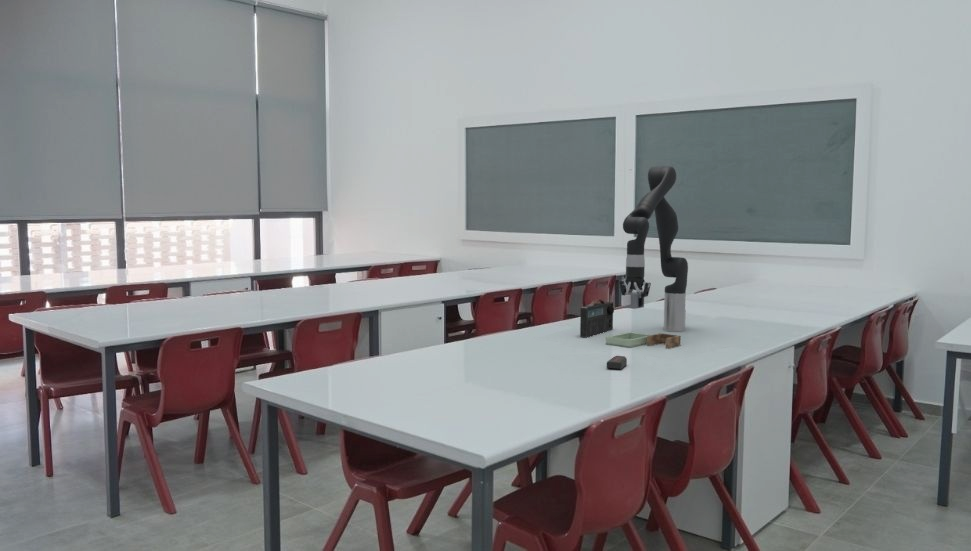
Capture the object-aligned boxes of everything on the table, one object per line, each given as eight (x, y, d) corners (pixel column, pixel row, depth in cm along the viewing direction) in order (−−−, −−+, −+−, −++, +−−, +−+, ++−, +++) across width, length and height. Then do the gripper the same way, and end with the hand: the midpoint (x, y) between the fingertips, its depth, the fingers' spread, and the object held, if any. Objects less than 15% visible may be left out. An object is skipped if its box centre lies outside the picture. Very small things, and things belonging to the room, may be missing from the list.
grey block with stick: (633, 306, 331) (633, 292, 331) (643, 307, 328) (644, 292, 327) (617, 309, 322) (617, 294, 322) (627, 310, 319) (627, 295, 318)
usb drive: (606, 367, 278) (606, 360, 277) (614, 361, 289) (614, 354, 288) (621, 369, 276) (621, 361, 275) (628, 363, 287) (628, 355, 286)
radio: (588, 338, 340) (589, 291, 338) (580, 337, 343) (580, 291, 341) (615, 331, 361) (615, 287, 359) (606, 330, 363) (607, 286, 361)
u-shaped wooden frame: (659, 342, 328) (660, 333, 328) (680, 345, 322) (680, 335, 322) (647, 345, 321) (647, 336, 321) (667, 348, 315) (668, 338, 314)
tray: (629, 339, 337) (629, 332, 337) (653, 342, 329) (653, 335, 329) (605, 344, 324) (605, 337, 324) (630, 347, 316) (630, 340, 316)
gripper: (655, 265, 324) (654, 307, 325) (625, 264, 333) (624, 304, 335) (645, 266, 318) (644, 308, 320) (615, 265, 328) (614, 305, 329)
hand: (634, 306), depth 327 cm, fingers closed on grey block with stick, 5 cm apart
